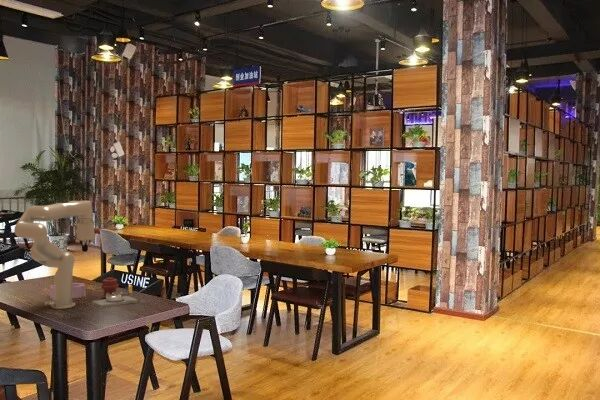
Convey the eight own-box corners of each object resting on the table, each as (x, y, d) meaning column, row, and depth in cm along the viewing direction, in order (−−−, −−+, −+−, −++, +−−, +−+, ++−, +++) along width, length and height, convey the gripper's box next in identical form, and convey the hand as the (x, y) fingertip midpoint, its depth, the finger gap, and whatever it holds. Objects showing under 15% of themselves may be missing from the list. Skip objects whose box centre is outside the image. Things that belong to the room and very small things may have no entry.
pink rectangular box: (50, 300, 320) (50, 288, 320) (49, 295, 331) (49, 284, 331) (85, 297, 329) (85, 286, 328) (84, 293, 340) (84, 282, 339)
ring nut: (132, 300, 314) (132, 285, 314) (107, 302, 308) (107, 287, 307) (129, 297, 323) (129, 282, 323) (104, 299, 317) (104, 284, 316)
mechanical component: (121, 296, 331) (112, 300, 321) (107, 295, 333) (97, 299, 323) (121, 277, 330) (112, 280, 321) (107, 276, 332) (97, 279, 323)
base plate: (101, 307, 303) (101, 305, 303) (92, 303, 312) (92, 301, 312) (137, 302, 318) (137, 299, 318) (127, 298, 327) (127, 295, 327)
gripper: (74, 222, 313) (74, 253, 313) (99, 221, 323) (99, 251, 324) (69, 221, 318) (69, 251, 319) (94, 220, 328) (94, 249, 329)
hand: (84, 251), depth 321 cm, fingers closed
